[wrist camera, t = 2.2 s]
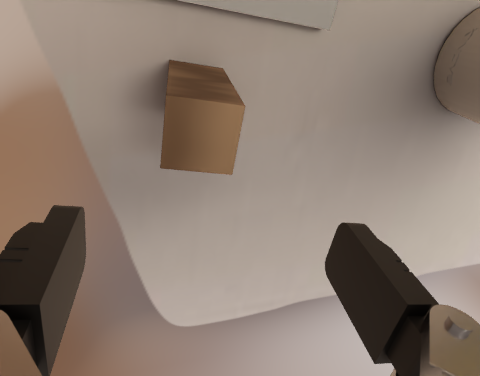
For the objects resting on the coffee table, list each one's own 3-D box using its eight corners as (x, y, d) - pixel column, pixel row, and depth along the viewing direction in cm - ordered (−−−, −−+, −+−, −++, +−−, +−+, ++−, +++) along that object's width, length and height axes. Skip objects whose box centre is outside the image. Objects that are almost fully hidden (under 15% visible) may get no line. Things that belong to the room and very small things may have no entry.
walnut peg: (222, 68, 26) (245, 105, 18) (215, 118, 28) (232, 174, 20) (169, 59, 25) (166, 95, 17) (165, 112, 27) (160, 168, 19)
